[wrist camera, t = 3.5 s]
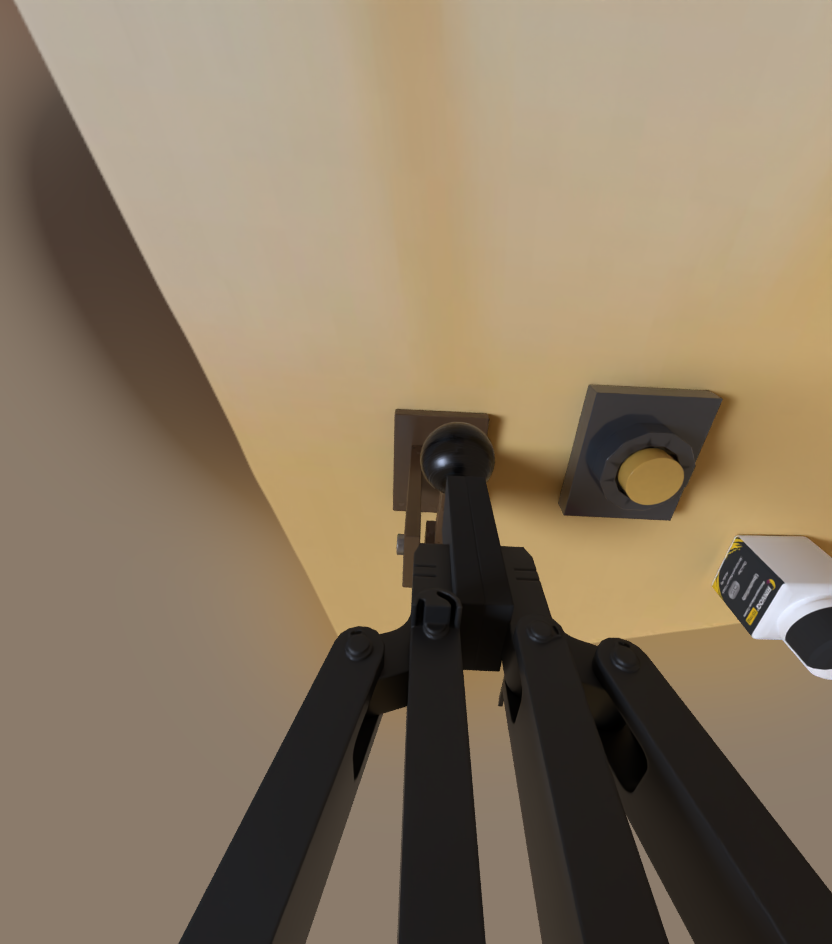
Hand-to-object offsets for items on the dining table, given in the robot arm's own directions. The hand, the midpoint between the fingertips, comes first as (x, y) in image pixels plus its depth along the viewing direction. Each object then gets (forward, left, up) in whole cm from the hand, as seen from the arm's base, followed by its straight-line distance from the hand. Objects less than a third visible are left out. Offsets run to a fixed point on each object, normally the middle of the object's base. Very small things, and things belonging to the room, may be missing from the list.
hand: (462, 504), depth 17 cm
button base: (+7, +17, -20) cm, 27 cm away
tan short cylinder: (+7, +17, -16) cm, 25 cm away
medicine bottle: (+19, +34, -20) cm, 44 cm away
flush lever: (+4, 0, -7) cm, 8 cm away
